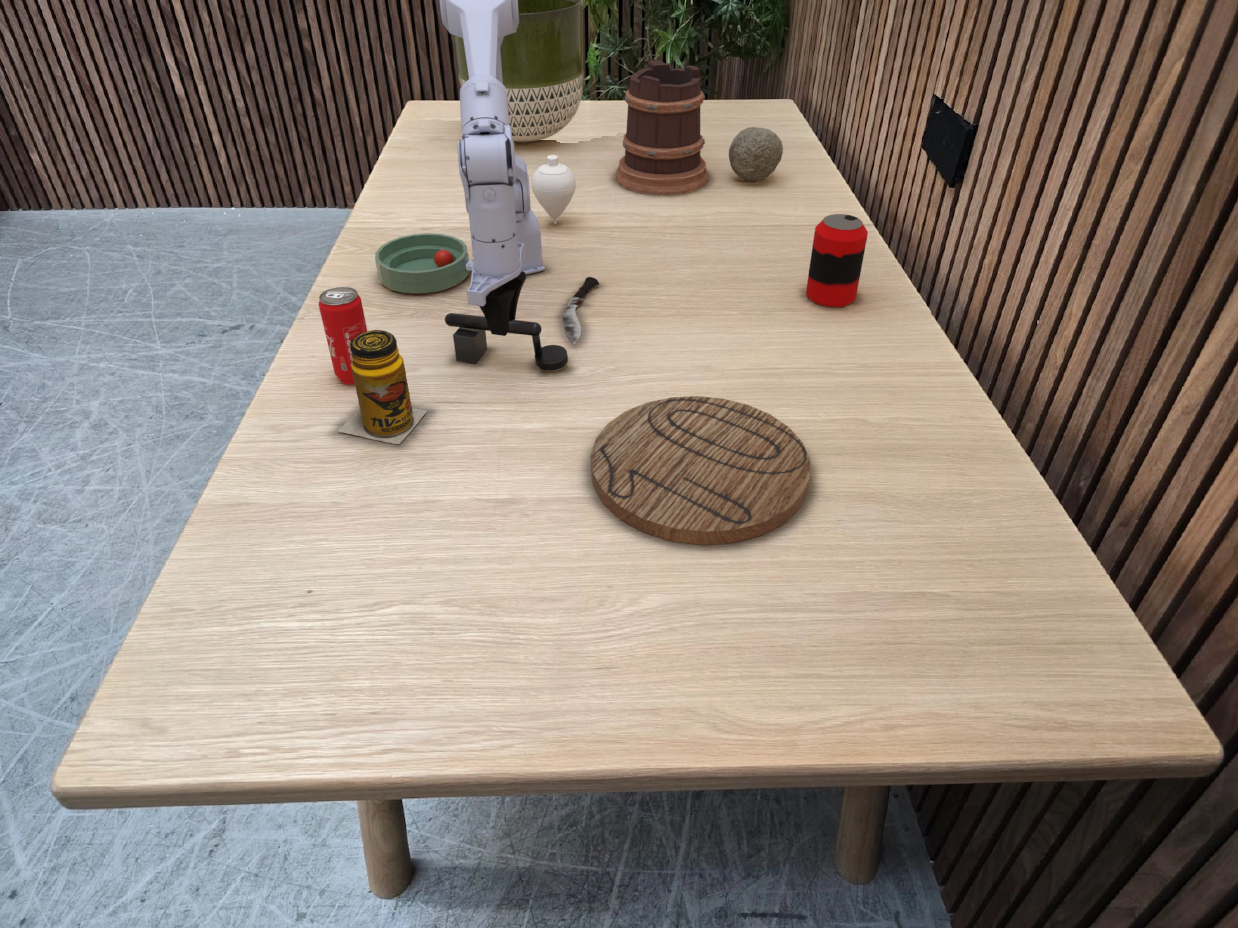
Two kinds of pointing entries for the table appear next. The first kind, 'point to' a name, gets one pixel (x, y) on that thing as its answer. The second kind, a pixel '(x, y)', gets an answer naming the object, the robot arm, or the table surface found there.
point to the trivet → (700, 470)
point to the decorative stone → (755, 153)
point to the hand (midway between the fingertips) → (502, 329)
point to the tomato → (443, 258)
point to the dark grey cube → (469, 345)
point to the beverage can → (342, 327)
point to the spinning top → (553, 186)
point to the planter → (540, 67)
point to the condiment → (380, 390)
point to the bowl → (421, 263)
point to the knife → (569, 314)
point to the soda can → (836, 260)
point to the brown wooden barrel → (663, 132)
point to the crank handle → (544, 356)
